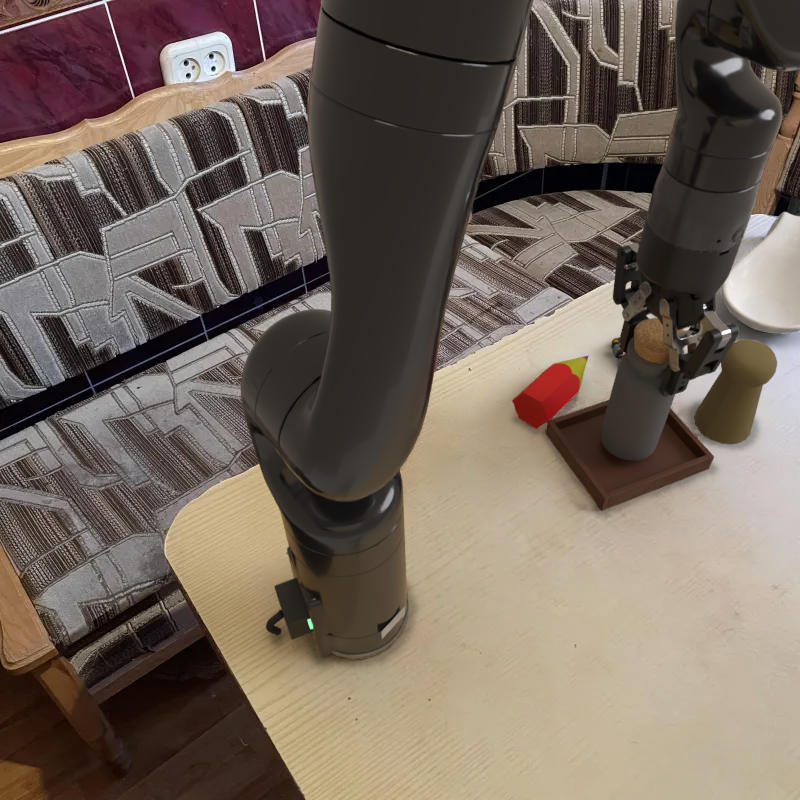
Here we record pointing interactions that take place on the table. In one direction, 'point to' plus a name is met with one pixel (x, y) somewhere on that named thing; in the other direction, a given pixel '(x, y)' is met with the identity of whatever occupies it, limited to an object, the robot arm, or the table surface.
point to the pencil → (550, 391)
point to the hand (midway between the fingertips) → (649, 369)
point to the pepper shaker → (736, 392)
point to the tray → (617, 476)
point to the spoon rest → (768, 280)
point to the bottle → (638, 395)
